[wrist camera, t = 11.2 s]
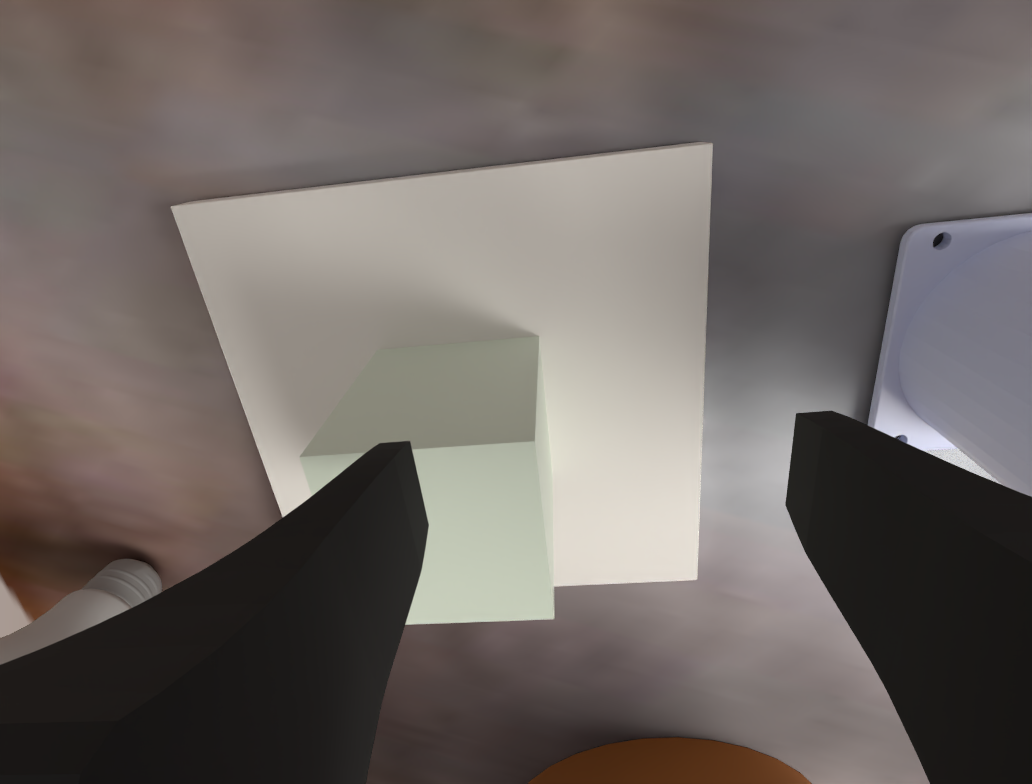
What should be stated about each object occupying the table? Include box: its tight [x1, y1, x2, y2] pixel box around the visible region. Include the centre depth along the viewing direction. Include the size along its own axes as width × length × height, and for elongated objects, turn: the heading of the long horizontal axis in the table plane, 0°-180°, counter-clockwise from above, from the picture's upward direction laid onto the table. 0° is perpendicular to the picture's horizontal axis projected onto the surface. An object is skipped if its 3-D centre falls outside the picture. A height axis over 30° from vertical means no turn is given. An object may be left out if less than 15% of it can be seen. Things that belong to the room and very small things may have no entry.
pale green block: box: [299, 336, 554, 625], centre depth 17 cm, size 5×5×7 cm
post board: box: [170, 142, 713, 586], centre depth 18 cm, size 16×16×6 cm
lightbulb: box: [0, 559, 162, 665], centre depth 20 cm, size 6×6×11 cm
